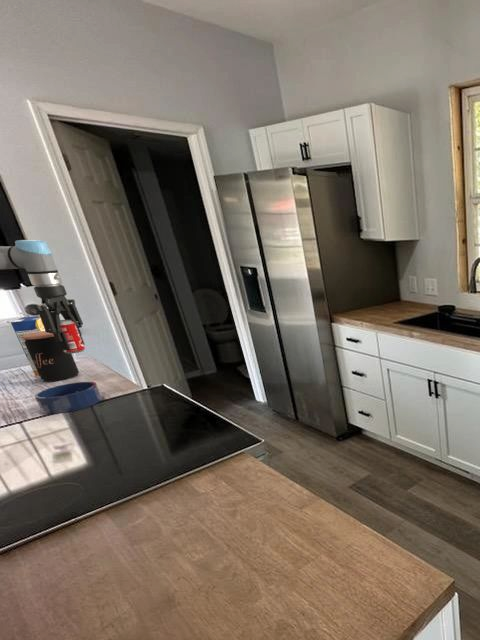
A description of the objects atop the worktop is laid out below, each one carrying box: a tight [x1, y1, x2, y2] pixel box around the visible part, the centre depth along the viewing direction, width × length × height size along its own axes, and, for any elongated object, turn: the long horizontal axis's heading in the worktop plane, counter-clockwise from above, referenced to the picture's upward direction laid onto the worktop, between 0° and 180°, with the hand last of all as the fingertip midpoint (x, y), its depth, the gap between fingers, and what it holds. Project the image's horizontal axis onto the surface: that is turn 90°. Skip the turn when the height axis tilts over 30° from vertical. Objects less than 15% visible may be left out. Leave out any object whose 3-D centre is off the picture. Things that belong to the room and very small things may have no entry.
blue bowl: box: [34, 381, 103, 415], centre depth 137 cm, size 14×14×6 cm
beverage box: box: [10, 315, 45, 377], centre depth 167 cm, size 7×11×22 cm, turn 32°
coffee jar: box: [22, 331, 80, 383], centre depth 160 cm, size 11×11×18 cm
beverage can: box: [60, 319, 86, 355], centre depth 155 cm, size 6×6×12 cm
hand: (72, 347), depth 156 cm, fingers closed on beverage can, 6 cm apart
